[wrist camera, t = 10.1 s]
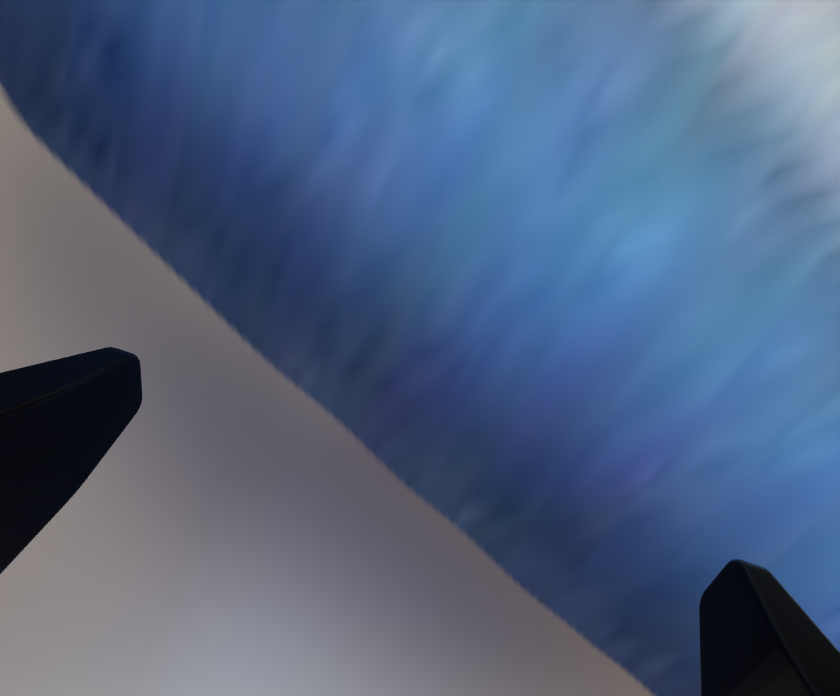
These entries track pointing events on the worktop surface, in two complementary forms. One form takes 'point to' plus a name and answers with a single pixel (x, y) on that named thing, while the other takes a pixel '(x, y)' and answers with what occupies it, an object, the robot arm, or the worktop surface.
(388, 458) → the worktop surface
